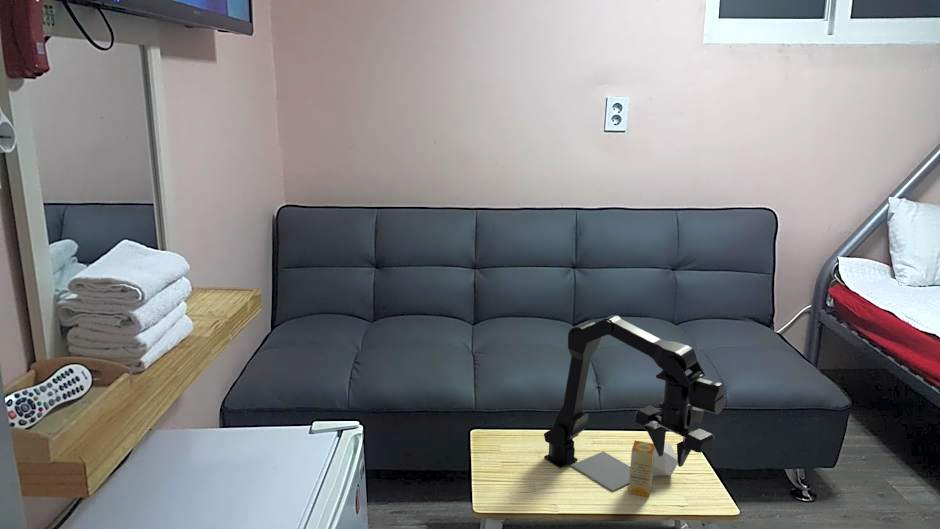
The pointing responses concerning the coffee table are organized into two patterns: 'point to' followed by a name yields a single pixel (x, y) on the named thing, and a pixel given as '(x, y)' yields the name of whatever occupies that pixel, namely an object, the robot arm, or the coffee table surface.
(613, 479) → the mat
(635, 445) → the shoe polish box
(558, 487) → the coffee table surface
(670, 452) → the die
